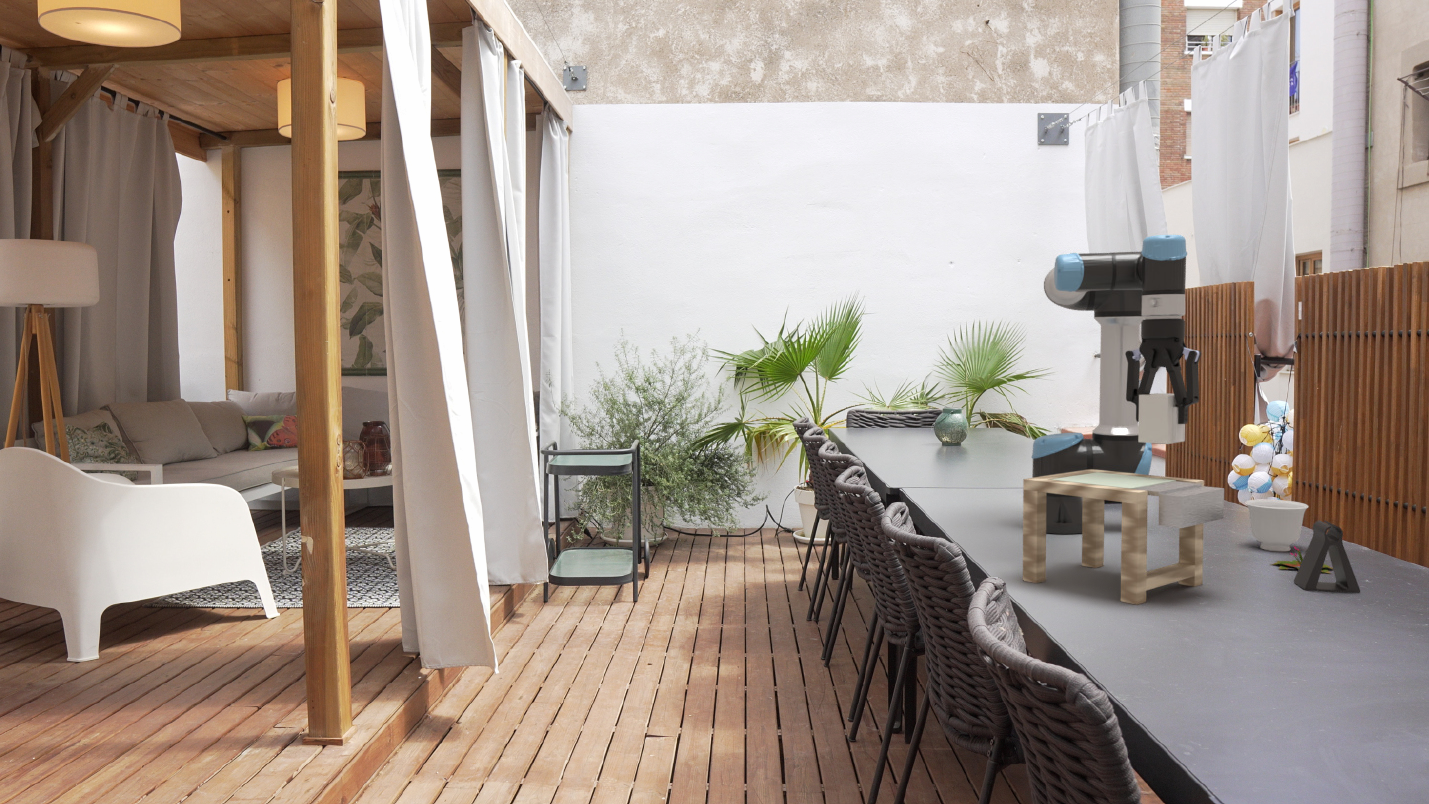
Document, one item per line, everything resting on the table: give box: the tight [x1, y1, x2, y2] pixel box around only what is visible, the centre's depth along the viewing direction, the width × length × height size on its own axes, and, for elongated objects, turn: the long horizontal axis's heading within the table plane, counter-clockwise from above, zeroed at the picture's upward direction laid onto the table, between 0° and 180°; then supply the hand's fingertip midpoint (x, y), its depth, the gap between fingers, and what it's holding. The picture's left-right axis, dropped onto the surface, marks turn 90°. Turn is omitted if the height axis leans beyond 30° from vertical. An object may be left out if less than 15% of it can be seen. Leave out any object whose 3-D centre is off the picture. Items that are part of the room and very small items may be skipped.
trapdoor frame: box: [1022, 469, 1205, 606], centre depth 184 cm, size 23×23×20 cm
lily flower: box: [1269, 545, 1333, 574], centre depth 195 cm, size 12×12×5 cm
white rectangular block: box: [1138, 392, 1186, 445], centre depth 185 cm, size 6×7×9 cm
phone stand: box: [1293, 519, 1361, 594], centre depth 178 cm, size 9×6×12 cm, turn 76°
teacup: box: [1244, 498, 1309, 553], centre depth 214 cm, size 12×15×10 cm
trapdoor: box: [1050, 472, 1225, 529], centre depth 180 cm, size 25×16×6 cm, turn 37°
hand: (1161, 440), depth 185 cm, fingers closed on white rectangular block, 5 cm apart
